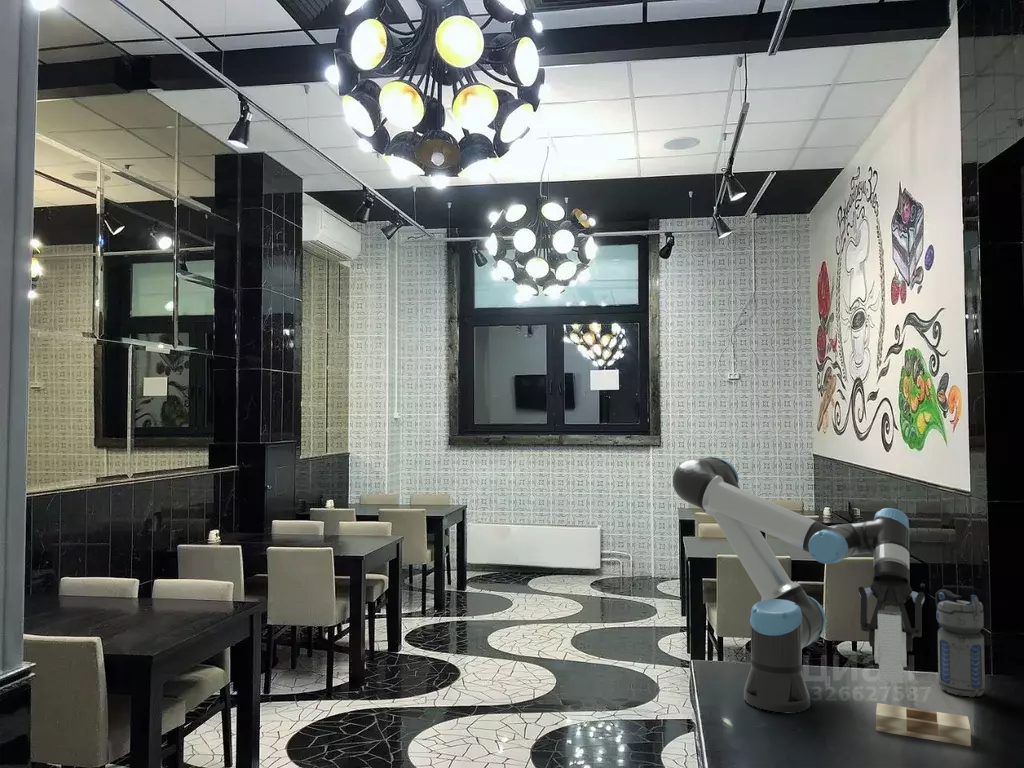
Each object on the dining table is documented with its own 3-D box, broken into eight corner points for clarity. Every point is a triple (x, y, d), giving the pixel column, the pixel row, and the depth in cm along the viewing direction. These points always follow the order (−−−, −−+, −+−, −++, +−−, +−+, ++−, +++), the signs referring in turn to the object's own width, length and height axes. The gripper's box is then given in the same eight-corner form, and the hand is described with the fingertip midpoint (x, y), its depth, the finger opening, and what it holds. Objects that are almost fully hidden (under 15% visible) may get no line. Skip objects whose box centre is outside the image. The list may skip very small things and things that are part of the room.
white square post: (879, 680, 168) (877, 613, 168) (880, 674, 171) (878, 609, 172) (903, 683, 166) (901, 616, 166) (903, 677, 169) (901, 611, 170)
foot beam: (876, 730, 173) (875, 714, 173) (877, 718, 180) (876, 702, 180) (970, 746, 165) (970, 729, 165) (967, 732, 172) (967, 716, 172)
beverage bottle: (955, 680, 206) (953, 584, 207) (997, 698, 193) (995, 595, 195) (922, 683, 204) (920, 586, 205) (962, 701, 191) (960, 597, 192)
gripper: (935, 581, 179) (938, 676, 163) (851, 575, 187) (846, 665, 172) (934, 562, 174) (937, 658, 159) (848, 556, 182) (843, 647, 167)
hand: (890, 661), depth 165 cm, fingers closed on white square post, 4 cm apart
